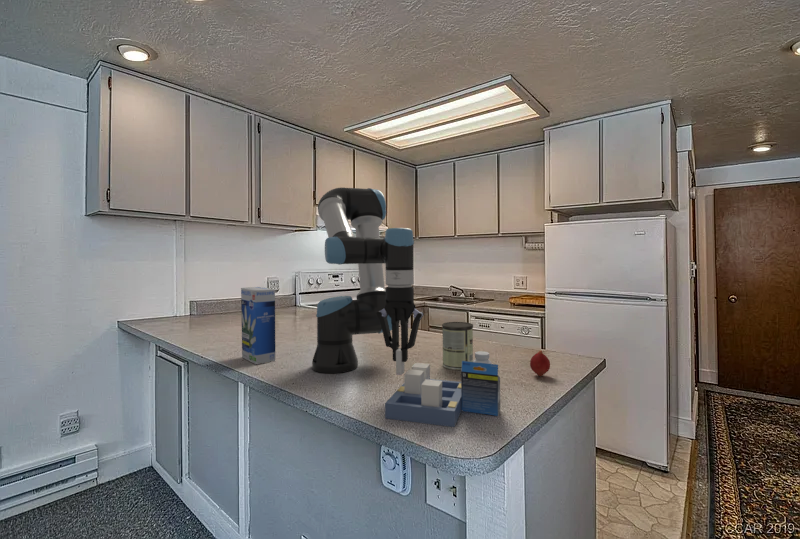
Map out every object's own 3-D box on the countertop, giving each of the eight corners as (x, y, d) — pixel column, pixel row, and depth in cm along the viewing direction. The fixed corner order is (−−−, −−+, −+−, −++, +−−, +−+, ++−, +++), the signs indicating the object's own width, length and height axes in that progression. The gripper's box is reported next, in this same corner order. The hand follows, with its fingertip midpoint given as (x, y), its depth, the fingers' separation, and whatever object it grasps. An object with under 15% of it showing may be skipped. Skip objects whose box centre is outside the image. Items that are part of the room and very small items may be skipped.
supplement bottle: (468, 385, 113) (468, 351, 112) (484, 382, 115) (484, 349, 114) (479, 391, 108) (479, 356, 107) (495, 388, 110) (495, 354, 109)
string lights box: (241, 357, 144) (239, 287, 143) (261, 354, 150) (260, 286, 149) (256, 365, 135) (254, 290, 134) (277, 360, 140) (275, 288, 139)
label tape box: (500, 410, 94) (500, 360, 94) (498, 417, 90) (498, 364, 90) (464, 405, 98) (464, 356, 97) (460, 411, 94) (460, 360, 93)
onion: (526, 376, 121) (526, 350, 120) (534, 372, 125) (534, 347, 124) (545, 380, 117) (545, 353, 116) (553, 375, 121) (553, 350, 120)
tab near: (421, 410, 89) (421, 384, 89) (425, 404, 93) (425, 379, 93) (438, 412, 88) (438, 386, 88) (442, 406, 92) (442, 380, 92)
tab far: (411, 389, 103) (411, 366, 103) (415, 384, 107) (415, 362, 107) (426, 390, 102) (426, 368, 102) (430, 385, 106) (429, 363, 106)
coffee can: (442, 361, 138) (441, 321, 137) (471, 361, 137) (471, 321, 136) (442, 369, 128) (442, 326, 127) (474, 370, 127) (474, 327, 126)
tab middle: (404, 398, 97) (404, 374, 97) (409, 392, 101) (408, 369, 101) (420, 399, 96) (420, 375, 96) (424, 394, 100) (424, 370, 100)
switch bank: (385, 418, 90) (385, 402, 90) (409, 389, 109) (409, 376, 109) (454, 427, 85) (454, 410, 85) (467, 395, 104) (467, 381, 104)
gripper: (371, 286, 104) (372, 375, 104) (419, 287, 100) (420, 379, 100) (381, 284, 111) (382, 367, 112) (426, 285, 107) (427, 371, 108)
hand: (400, 373), depth 106 cm, fingers closed
